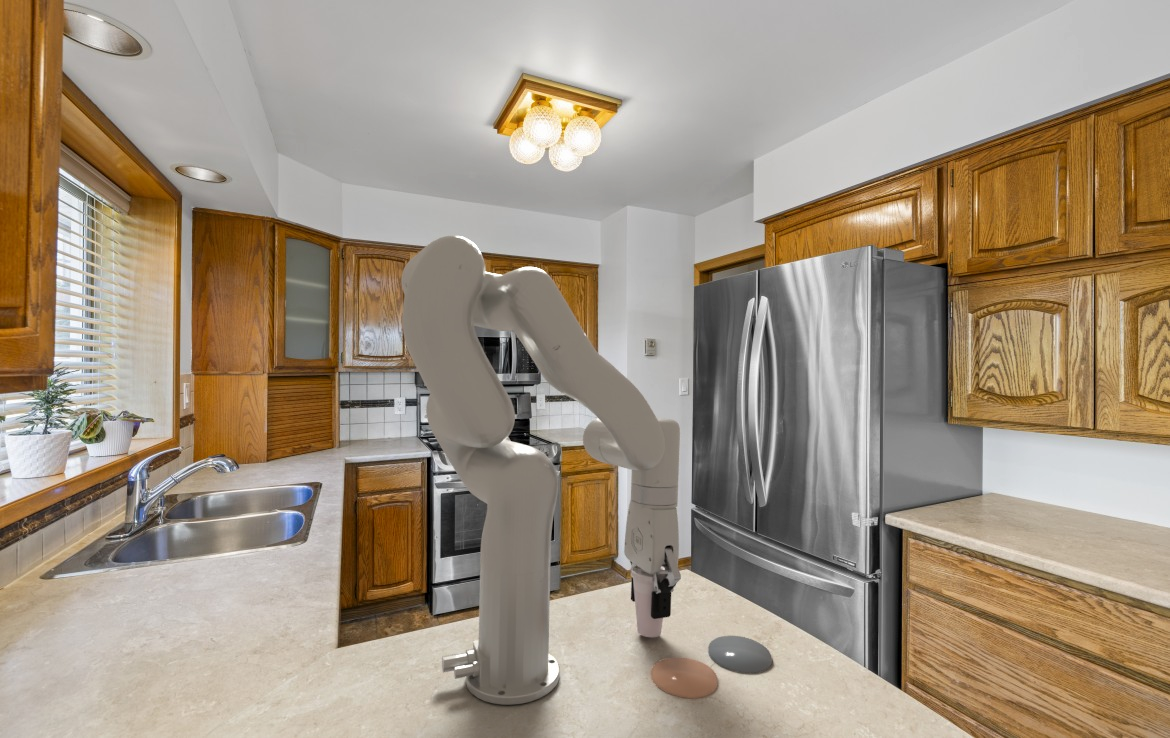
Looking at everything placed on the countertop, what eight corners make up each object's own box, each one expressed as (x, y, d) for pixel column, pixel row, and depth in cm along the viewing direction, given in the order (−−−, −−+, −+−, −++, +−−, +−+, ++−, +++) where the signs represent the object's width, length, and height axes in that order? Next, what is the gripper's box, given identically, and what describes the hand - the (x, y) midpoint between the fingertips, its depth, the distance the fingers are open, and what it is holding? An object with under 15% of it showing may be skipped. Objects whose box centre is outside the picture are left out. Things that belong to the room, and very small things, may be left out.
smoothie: (668, 643, 79) (671, 550, 80) (626, 638, 81) (629, 546, 82) (670, 626, 86) (672, 539, 87) (631, 621, 87) (634, 536, 88)
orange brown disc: (672, 706, 66) (672, 700, 66) (639, 669, 74) (639, 664, 74) (731, 692, 69) (731, 686, 69) (693, 658, 78) (693, 652, 78)
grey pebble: (749, 683, 71) (749, 678, 71) (696, 655, 78) (696, 649, 78) (783, 659, 77) (783, 653, 77) (730, 634, 84) (730, 629, 84)
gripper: (610, 485, 91) (606, 590, 90) (661, 508, 75) (656, 636, 74) (648, 484, 93) (644, 586, 93) (705, 505, 77) (701, 629, 77)
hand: (650, 607), depth 83 cm, fingers closed on smoothie, 5 cm apart
